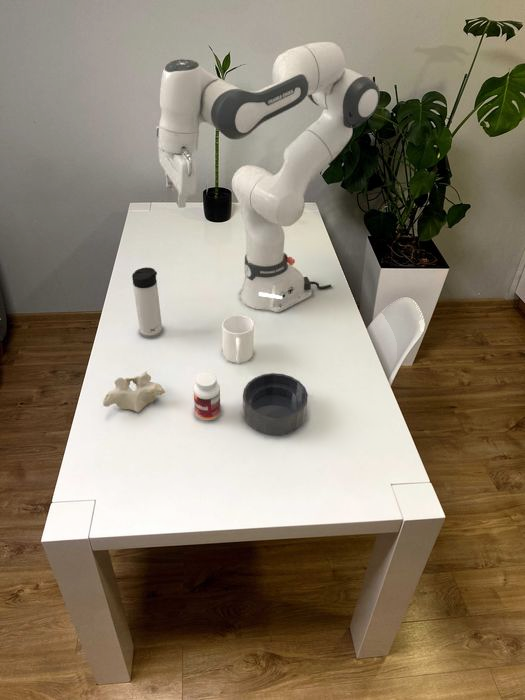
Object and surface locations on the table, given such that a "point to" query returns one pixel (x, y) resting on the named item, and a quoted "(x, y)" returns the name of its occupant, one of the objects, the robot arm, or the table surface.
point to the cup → (237, 338)
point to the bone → (133, 393)
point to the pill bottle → (206, 396)
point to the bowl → (274, 403)
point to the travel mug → (147, 302)
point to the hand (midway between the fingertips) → (175, 197)
